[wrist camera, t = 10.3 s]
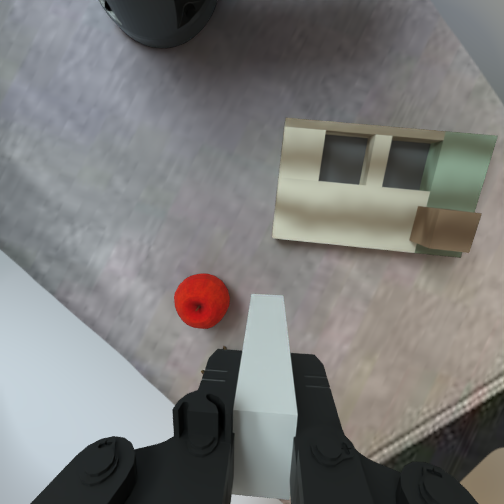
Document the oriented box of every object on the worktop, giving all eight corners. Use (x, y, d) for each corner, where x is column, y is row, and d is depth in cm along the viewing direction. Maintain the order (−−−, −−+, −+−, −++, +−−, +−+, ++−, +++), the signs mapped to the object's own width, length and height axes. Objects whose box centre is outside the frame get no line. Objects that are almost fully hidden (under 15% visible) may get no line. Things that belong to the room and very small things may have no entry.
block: (418, 205, 34) (440, 209, 29) (454, 209, 33) (481, 213, 29) (409, 240, 35) (429, 248, 30) (443, 244, 35) (469, 252, 30)
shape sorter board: (284, 123, 35) (286, 117, 32) (478, 139, 34) (497, 135, 31) (272, 234, 39) (272, 238, 36) (445, 252, 38) (460, 257, 35)
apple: (229, 316, 43) (221, 343, 35) (181, 308, 43) (164, 333, 36) (236, 270, 40) (229, 289, 33) (185, 262, 41) (167, 278, 34)
